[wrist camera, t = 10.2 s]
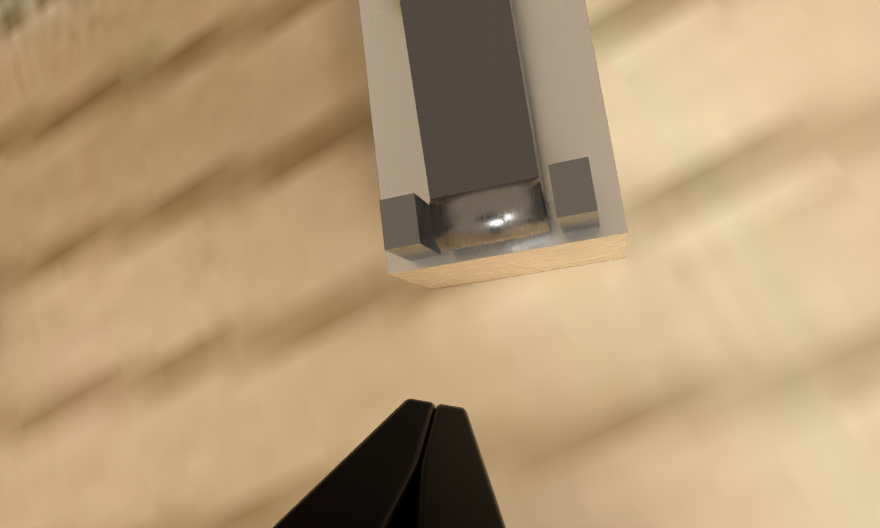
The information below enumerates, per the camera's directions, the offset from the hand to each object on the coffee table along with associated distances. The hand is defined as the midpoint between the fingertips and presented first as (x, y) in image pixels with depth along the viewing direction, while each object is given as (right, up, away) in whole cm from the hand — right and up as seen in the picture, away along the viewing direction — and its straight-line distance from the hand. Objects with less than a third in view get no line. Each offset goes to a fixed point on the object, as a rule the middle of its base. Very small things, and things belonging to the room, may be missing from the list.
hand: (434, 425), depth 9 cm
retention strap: (+1, +4, +8) cm, 9 cm away
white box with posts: (+2, +8, +14) cm, 16 cm away
